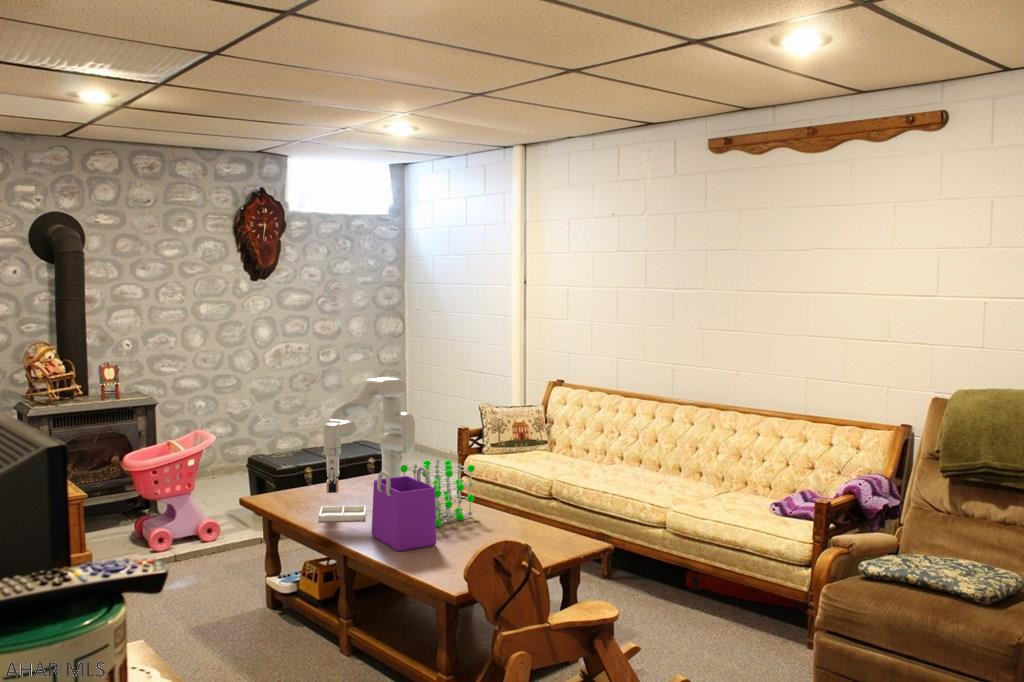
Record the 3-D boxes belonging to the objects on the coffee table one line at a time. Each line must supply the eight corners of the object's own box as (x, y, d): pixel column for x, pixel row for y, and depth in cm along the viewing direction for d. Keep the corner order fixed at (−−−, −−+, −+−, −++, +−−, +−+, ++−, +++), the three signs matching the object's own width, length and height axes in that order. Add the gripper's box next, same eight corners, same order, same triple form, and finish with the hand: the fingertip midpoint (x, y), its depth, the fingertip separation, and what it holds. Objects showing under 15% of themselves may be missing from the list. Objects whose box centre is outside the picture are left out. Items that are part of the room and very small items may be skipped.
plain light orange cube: (338, 489, 389) (338, 478, 388) (338, 492, 384) (337, 481, 383) (327, 490, 388) (327, 479, 388) (326, 493, 383) (326, 481, 383)
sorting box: (365, 511, 396) (365, 505, 396) (365, 521, 381) (365, 514, 380) (321, 512, 393) (321, 506, 393) (318, 522, 378) (318, 515, 377)
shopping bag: (361, 538, 356) (361, 466, 354) (403, 528, 371) (403, 459, 369) (403, 554, 336) (404, 478, 334) (446, 543, 351) (447, 470, 349)
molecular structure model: (475, 517, 391) (476, 464, 390) (437, 528, 372) (437, 473, 370) (437, 507, 407) (438, 456, 405) (398, 518, 387) (398, 464, 386)
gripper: (339, 454, 376) (340, 495, 378) (341, 446, 393) (342, 485, 395) (322, 455, 375) (322, 496, 377) (324, 446, 392) (325, 486, 394)
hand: (332, 490), depth 386 cm, fingers closed on plain light orange cube, 4 cm apart
